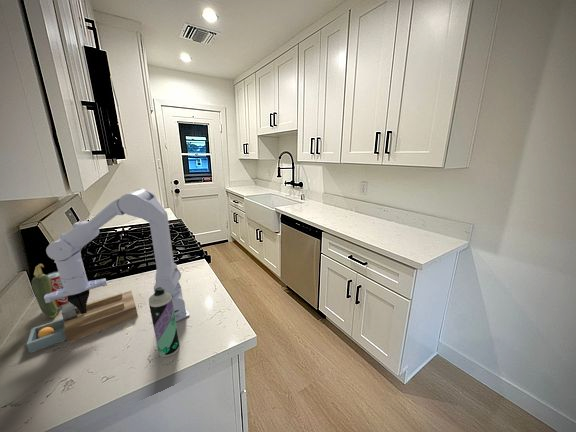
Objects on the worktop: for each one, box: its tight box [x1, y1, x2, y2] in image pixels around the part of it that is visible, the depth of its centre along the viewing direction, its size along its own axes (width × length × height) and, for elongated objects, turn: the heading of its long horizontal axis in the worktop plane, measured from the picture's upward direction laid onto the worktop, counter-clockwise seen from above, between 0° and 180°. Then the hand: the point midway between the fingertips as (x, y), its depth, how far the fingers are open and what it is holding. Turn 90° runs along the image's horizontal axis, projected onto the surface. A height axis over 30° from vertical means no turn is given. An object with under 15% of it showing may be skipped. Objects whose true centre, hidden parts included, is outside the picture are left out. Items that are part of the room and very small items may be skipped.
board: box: [64, 290, 139, 343], centre depth 79 cm, size 12×18×6 cm, turn 129°
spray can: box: [148, 287, 181, 358], centre depth 65 cm, size 6×6×20 cm
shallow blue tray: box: [26, 317, 67, 354], centre depth 72 cm, size 8×8×3 cm
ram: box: [61, 302, 79, 322], centre depth 74 cm, size 5×3×4 cm, turn 39°
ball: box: [38, 327, 54, 338], centre depth 71 cm, size 3×3×3 cm
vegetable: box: [30, 263, 58, 319], centre depth 78 cm, size 4×4×20 cm
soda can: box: [46, 271, 70, 308], centre depth 87 cm, size 6×6×12 cm
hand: (84, 312), depth 76 cm, fingers closed
